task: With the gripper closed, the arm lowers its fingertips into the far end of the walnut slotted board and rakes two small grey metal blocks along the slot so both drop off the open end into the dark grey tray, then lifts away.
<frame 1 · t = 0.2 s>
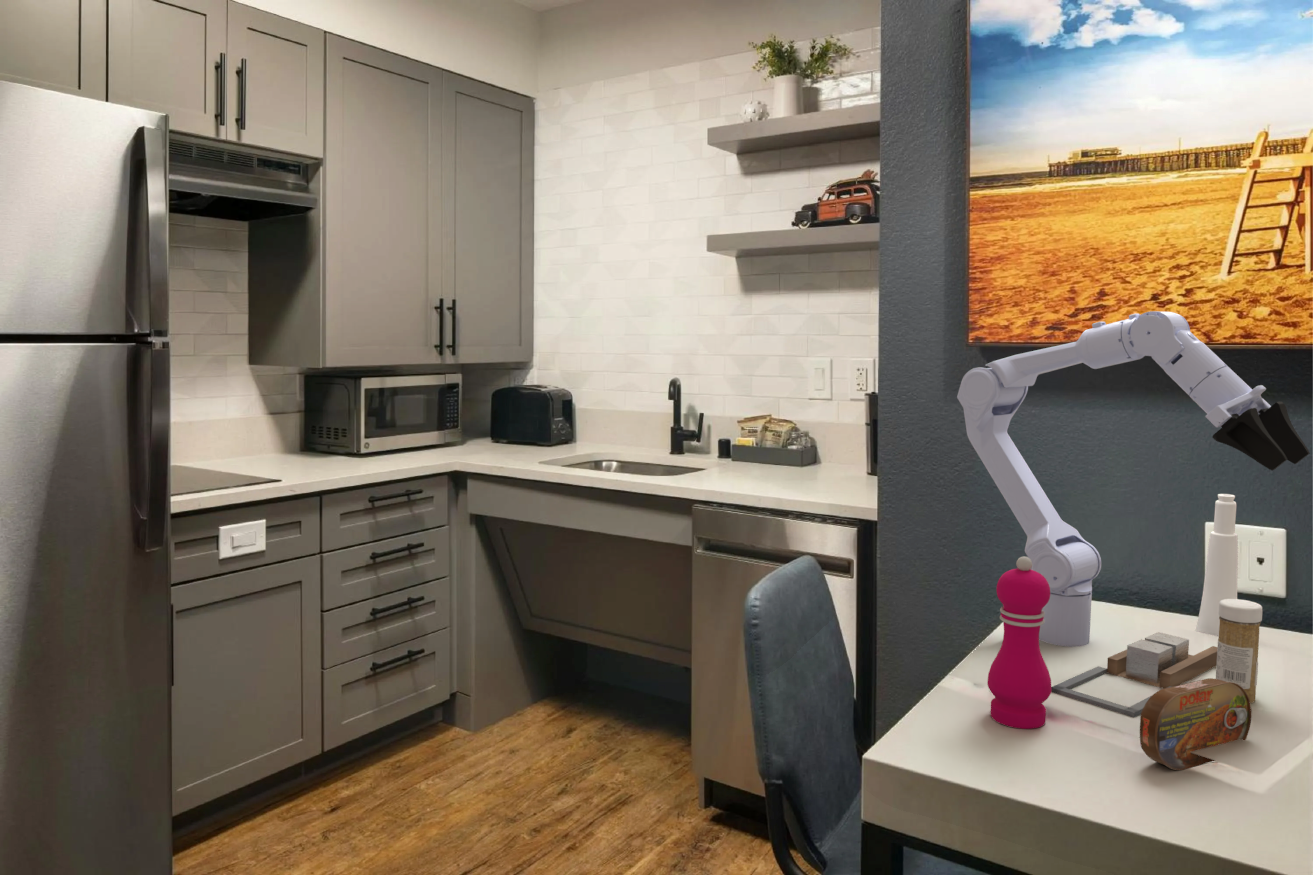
hand: (1291, 461, 116), 31 cm above the table, tool tilted 45°, fingers open, 7 cm apart
sprinkles bottle: (1233, 709, 118), on the table
tray: (1114, 703, 120), on the table
grey cube: (1165, 667, 128), point 1 cm above the table, touching slot board
slot board: (1164, 677, 129), on the table
cosmetic bottle: (1217, 637, 146), on the table
pepper mill: (1017, 720, 115), on the table
chip b: (1148, 675, 125), point 1 cm above the table, touching slot board
tin: (1192, 760, 104), on the table
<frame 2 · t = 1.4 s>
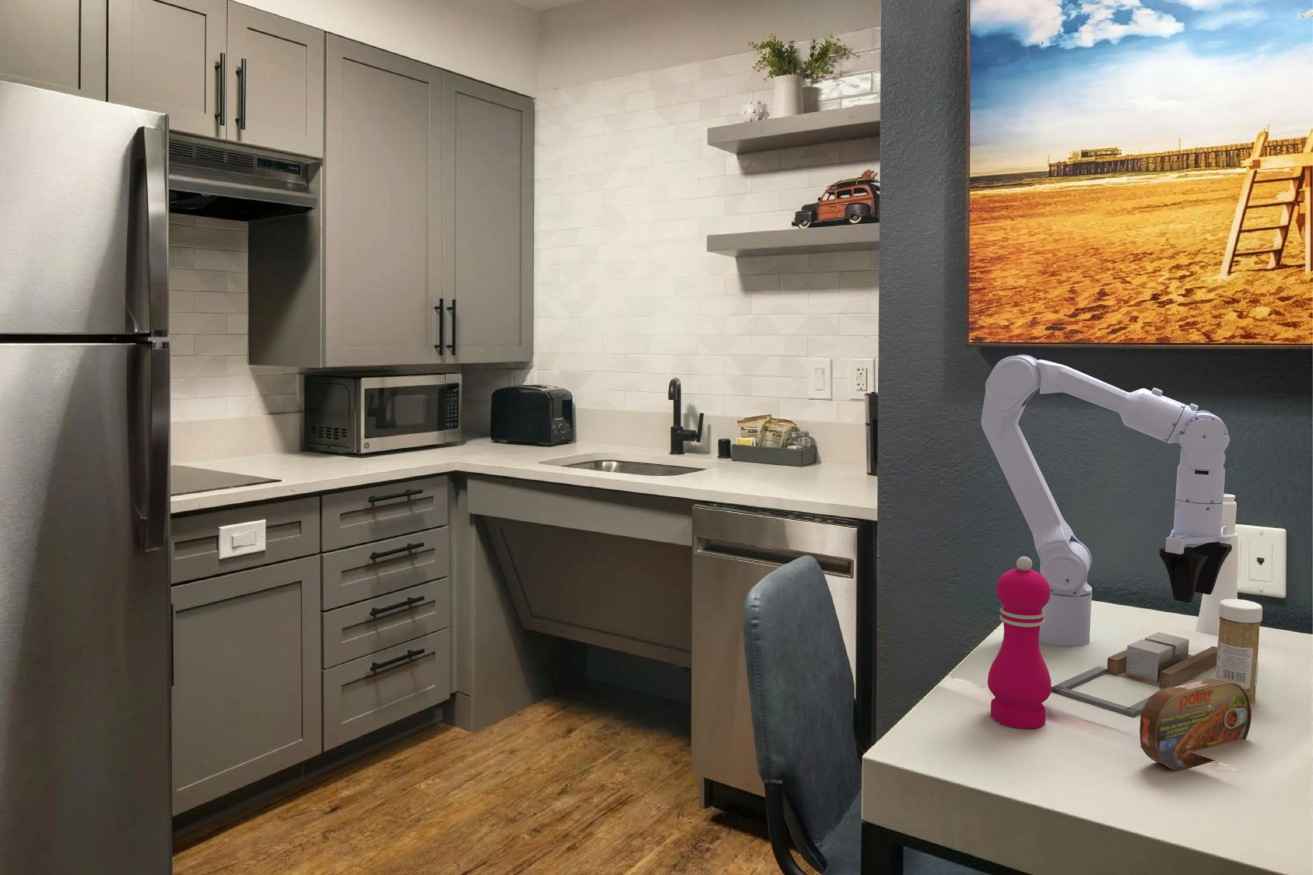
hand: (1192, 596, 132), 10 cm above the table, tool pointing down, fingers open, 6 cm apart
nothing on the table moved.
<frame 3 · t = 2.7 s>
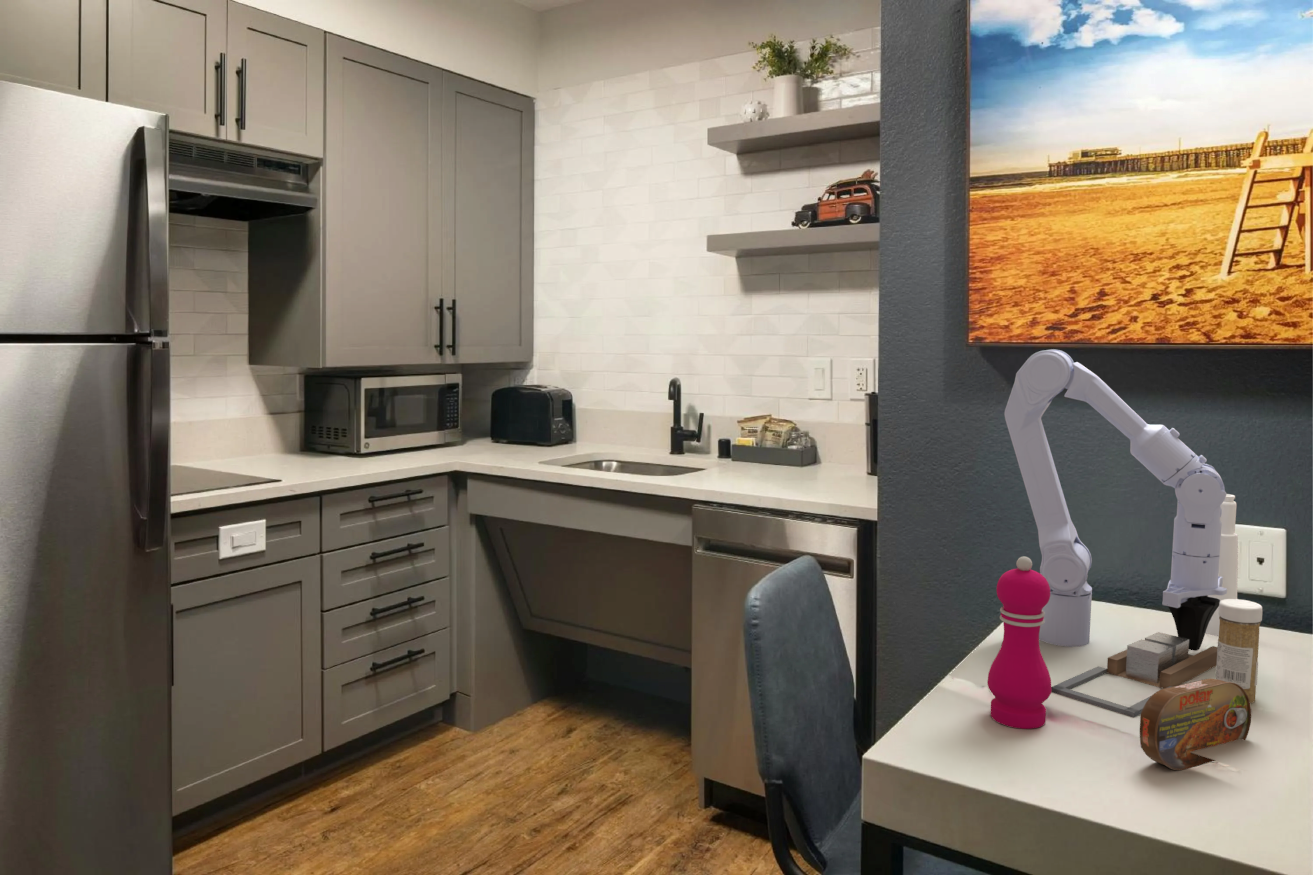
hand: (1189, 648, 133), 3 cm above the table, tool pointing down, fingers closed
nothing on the table moved.
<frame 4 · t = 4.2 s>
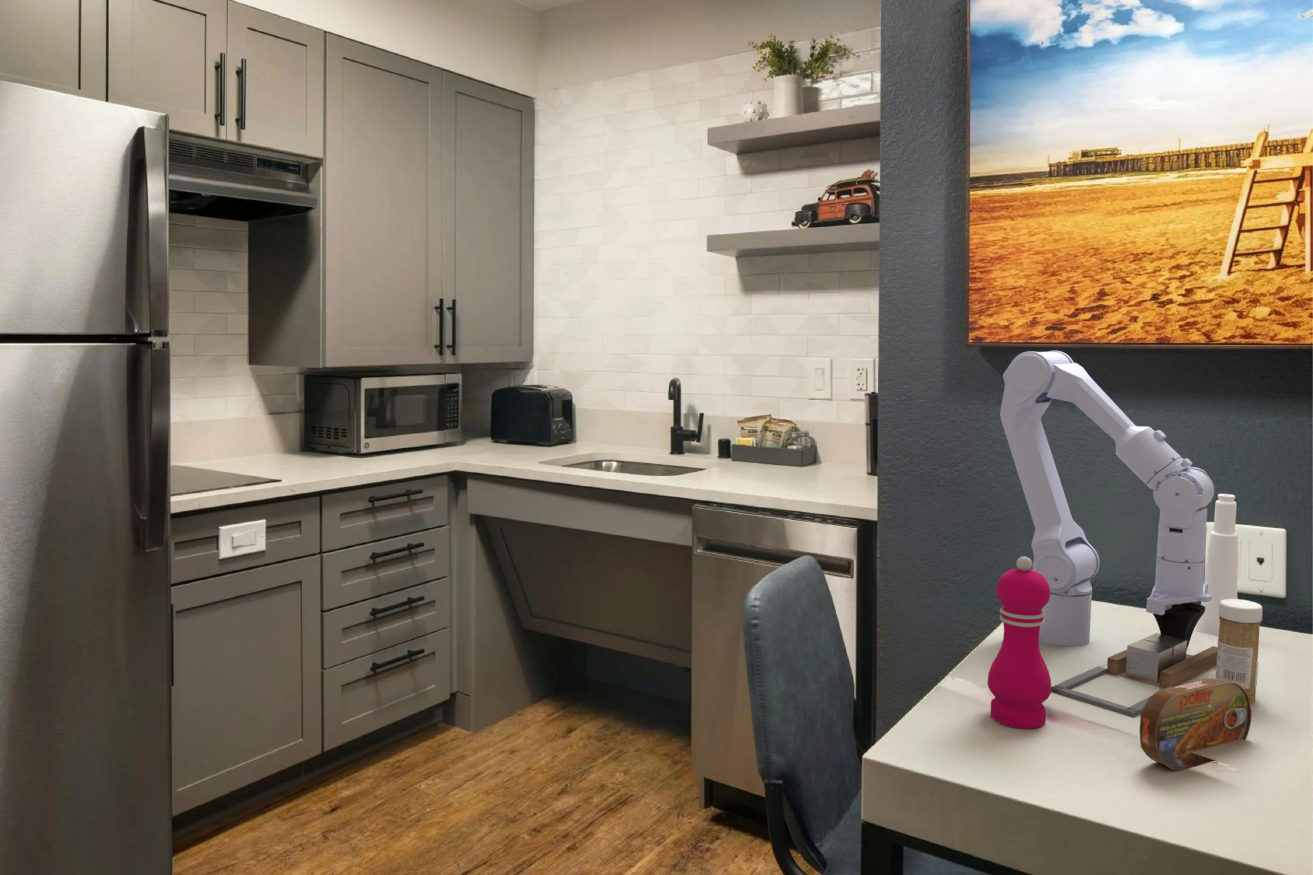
hand: (1174, 655, 130), 3 cm above the table, tool pointing down, fingers closed
grey cube: (1163, 668, 128), point 2 cm above the table, touching gripper
everything else where it was.
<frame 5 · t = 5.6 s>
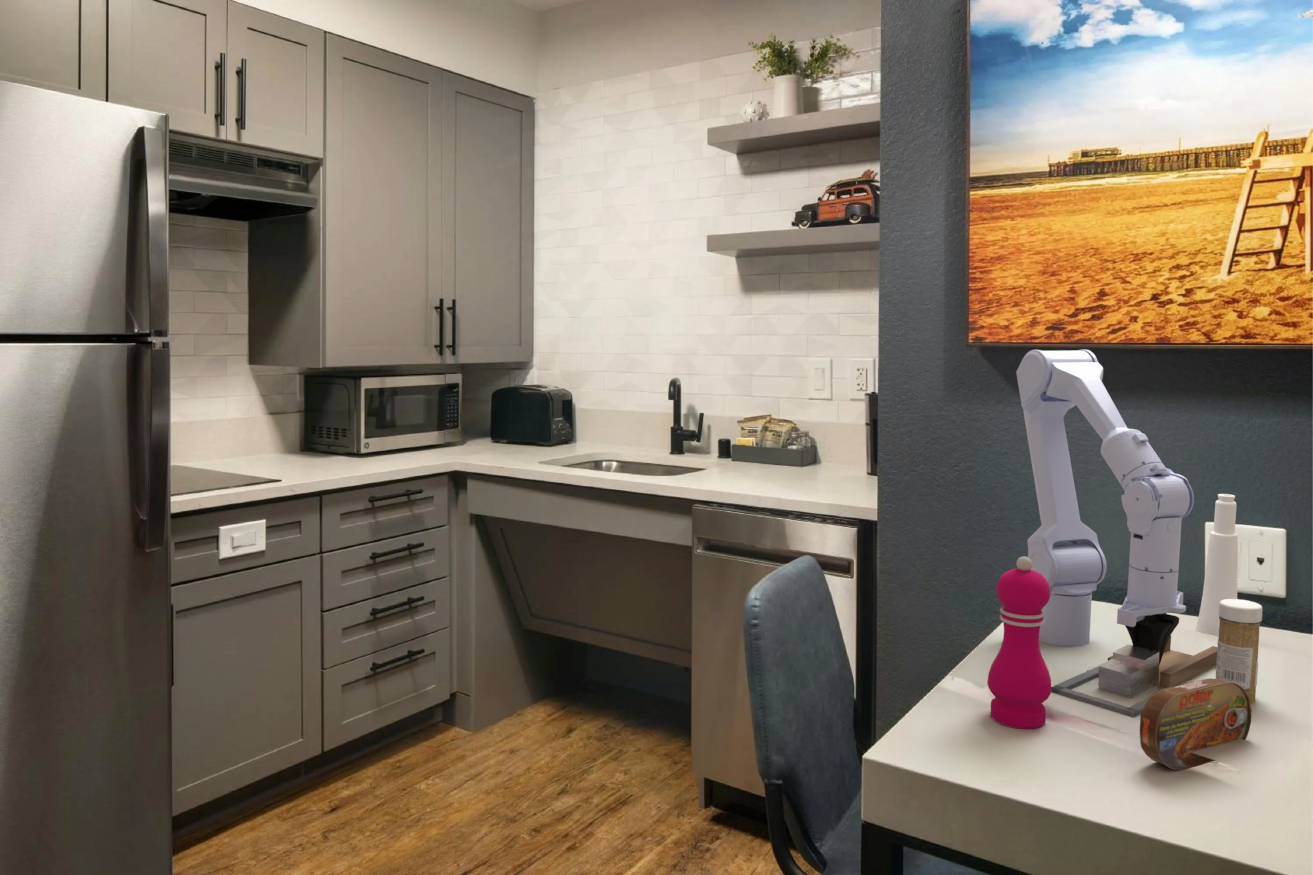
hand: (1147, 668, 125), 3 cm above the table, tool pointing down, fingers closed
grey cube: (1135, 681, 123), point 2 cm above the table, touching chip b, gripper
chip b: (1121, 695, 120), point 1 cm above the table, touching grey cube
everything else where it was.
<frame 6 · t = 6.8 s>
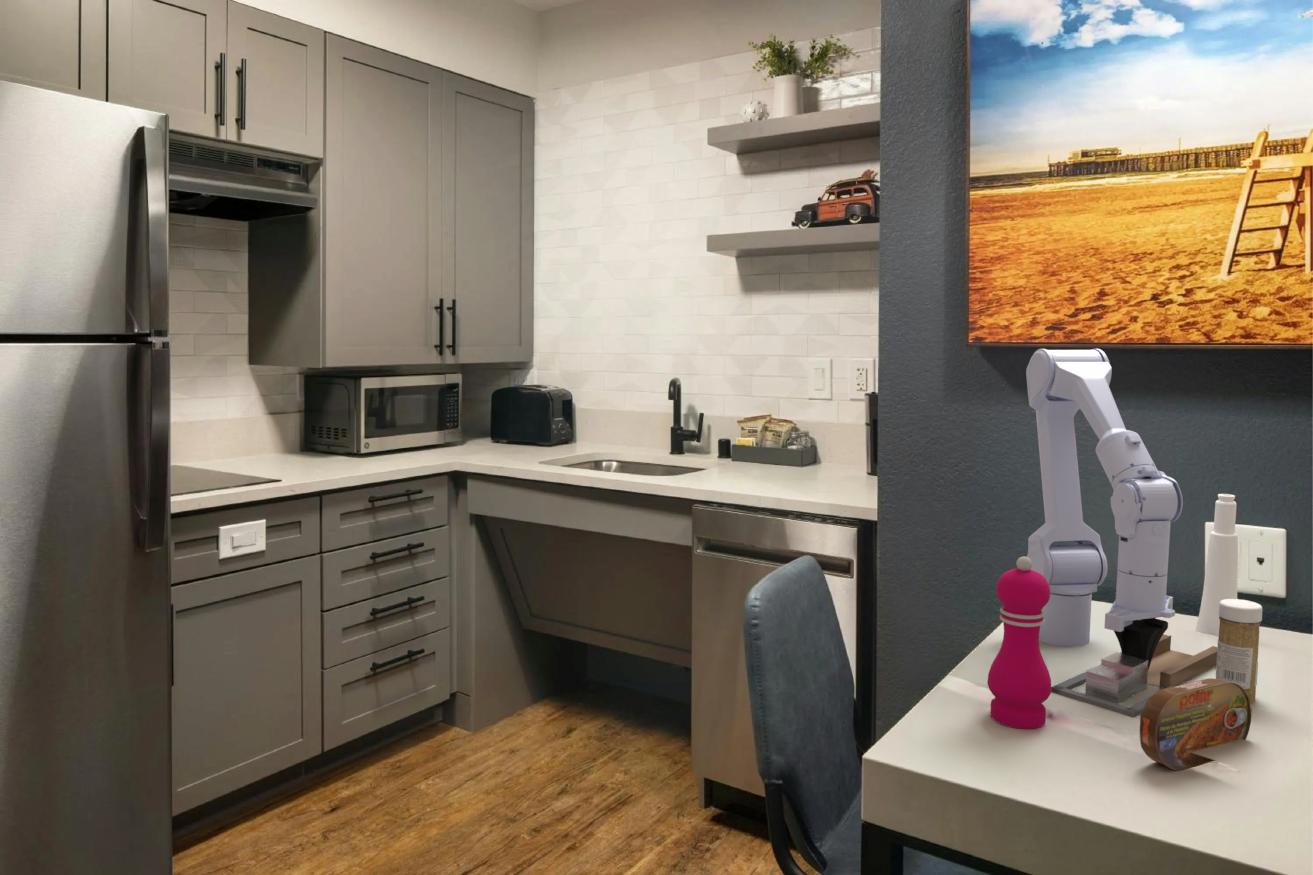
hand: (1136, 674, 123), 2 cm above the table, tool pointing down, fingers closed
grey cube: (1123, 689, 121), point 1 cm above the table, touching chip b, gripper
chip b: (1108, 702, 119), point 1 cm above the table, touching grey cube, tray
everything else where it was.
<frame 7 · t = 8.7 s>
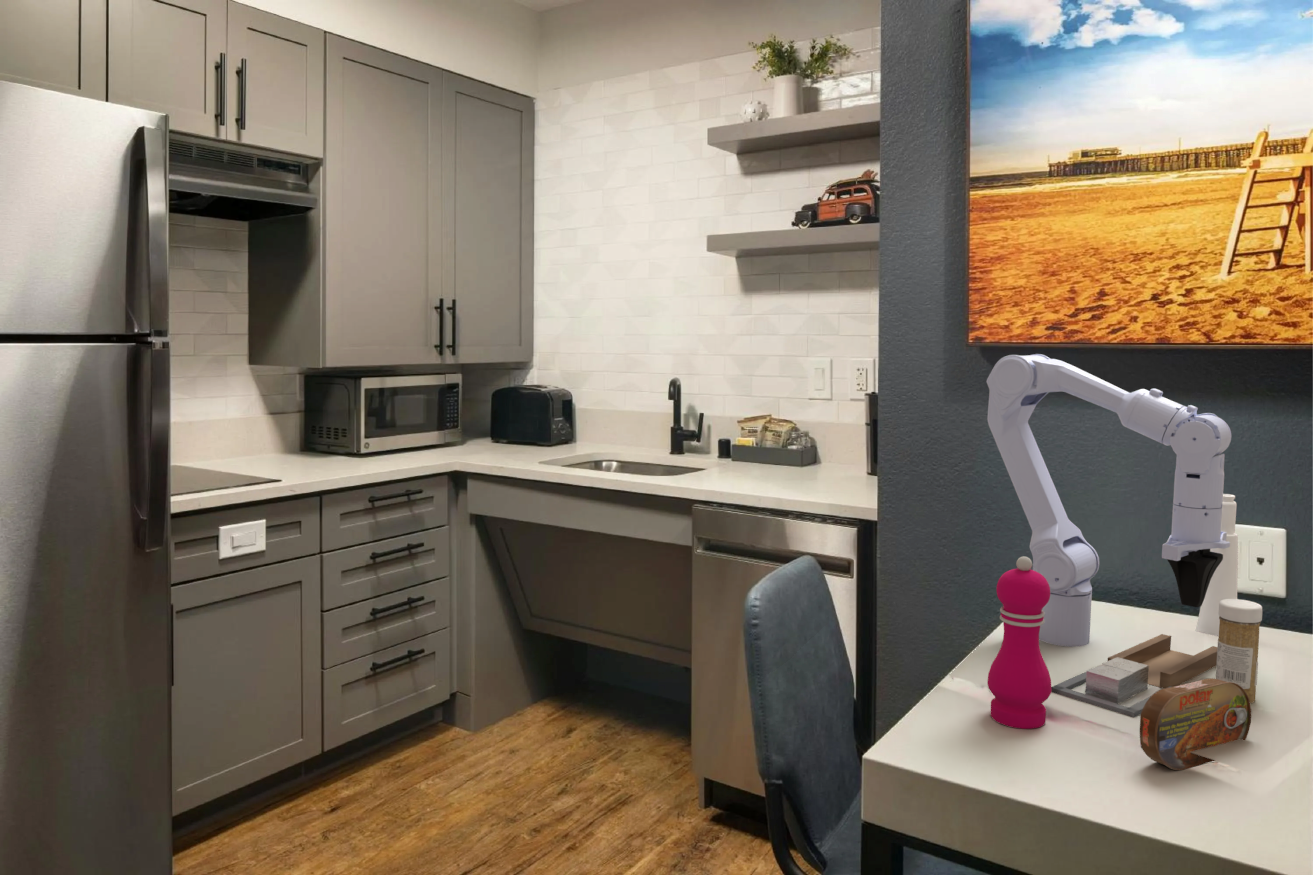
hand: (1191, 605, 128), 10 cm above the table, tool pointing down, fingers closed
grey cube: (1123, 694, 121), resting on tray
chip b: (1108, 702, 119), resting on tray
everything else where it was.
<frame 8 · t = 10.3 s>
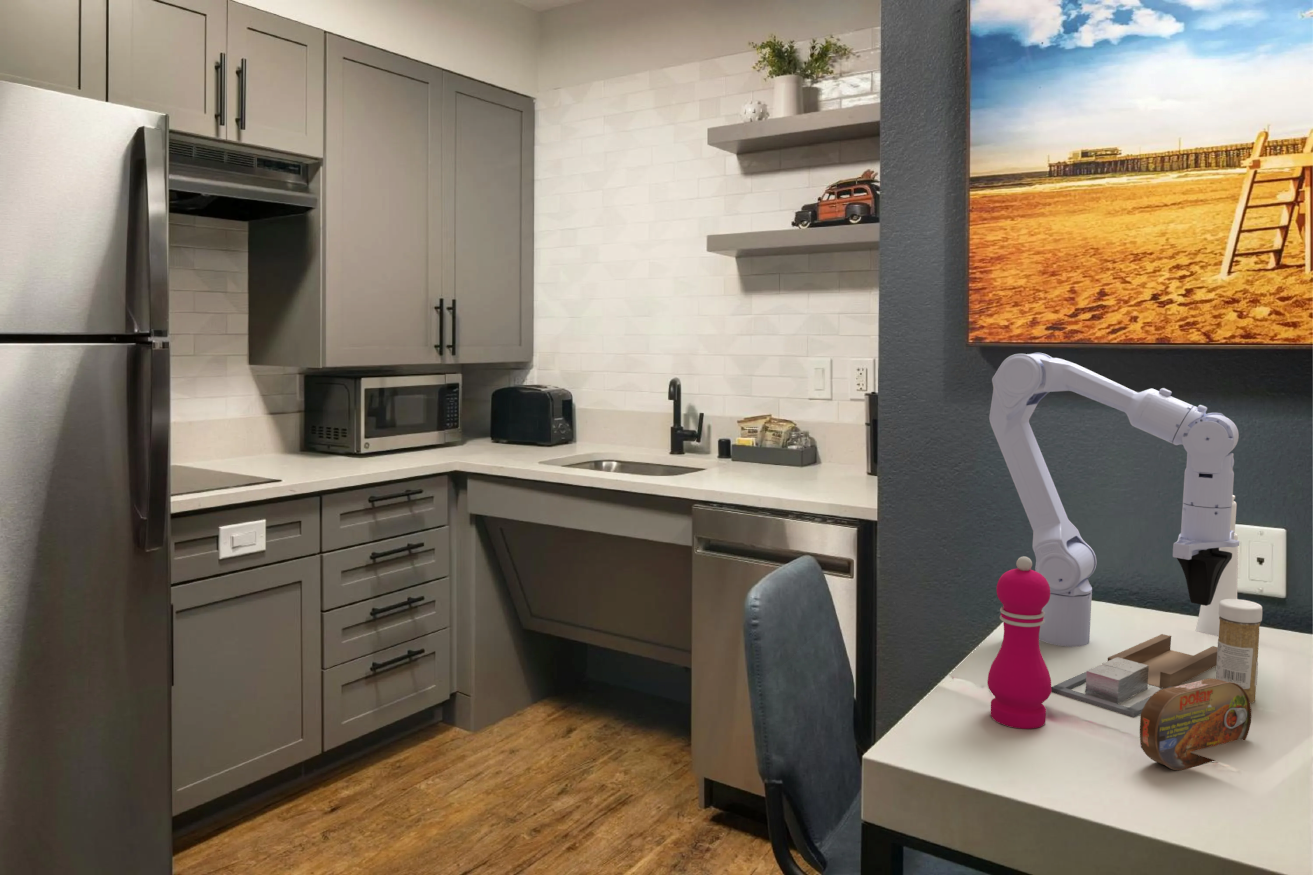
hand: (1200, 603, 129), 10 cm above the table, tool pointing down, fingers closed
nothing on the table moved.
at the end: chip b inside the target area (1.6 cm from its centre), point 0.5 cm above the table; grey cube inside the target area (2.6 cm from its centre), point 0.5 cm above the table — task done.
